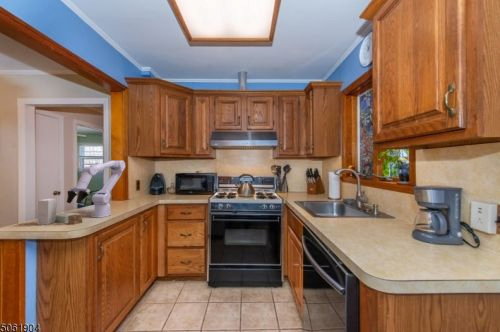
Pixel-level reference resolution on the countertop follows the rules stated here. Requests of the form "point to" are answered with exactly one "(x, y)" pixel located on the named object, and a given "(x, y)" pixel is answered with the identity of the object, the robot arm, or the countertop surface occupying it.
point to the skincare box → (46, 211)
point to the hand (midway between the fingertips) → (73, 202)
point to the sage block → (63, 217)
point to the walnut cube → (74, 219)
